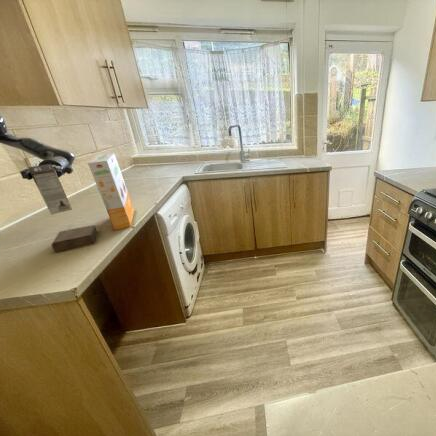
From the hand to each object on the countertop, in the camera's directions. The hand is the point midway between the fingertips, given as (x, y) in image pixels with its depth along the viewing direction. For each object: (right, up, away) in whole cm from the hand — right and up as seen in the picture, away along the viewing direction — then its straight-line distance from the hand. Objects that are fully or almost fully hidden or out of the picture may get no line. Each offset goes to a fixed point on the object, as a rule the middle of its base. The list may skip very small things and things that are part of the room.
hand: (42, 175), depth 87 cm
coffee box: (-1, -12, +7) cm, 14 cm away
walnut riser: (+3, -25, +12) cm, 28 cm away
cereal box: (+9, -16, +31) cm, 36 cm away
